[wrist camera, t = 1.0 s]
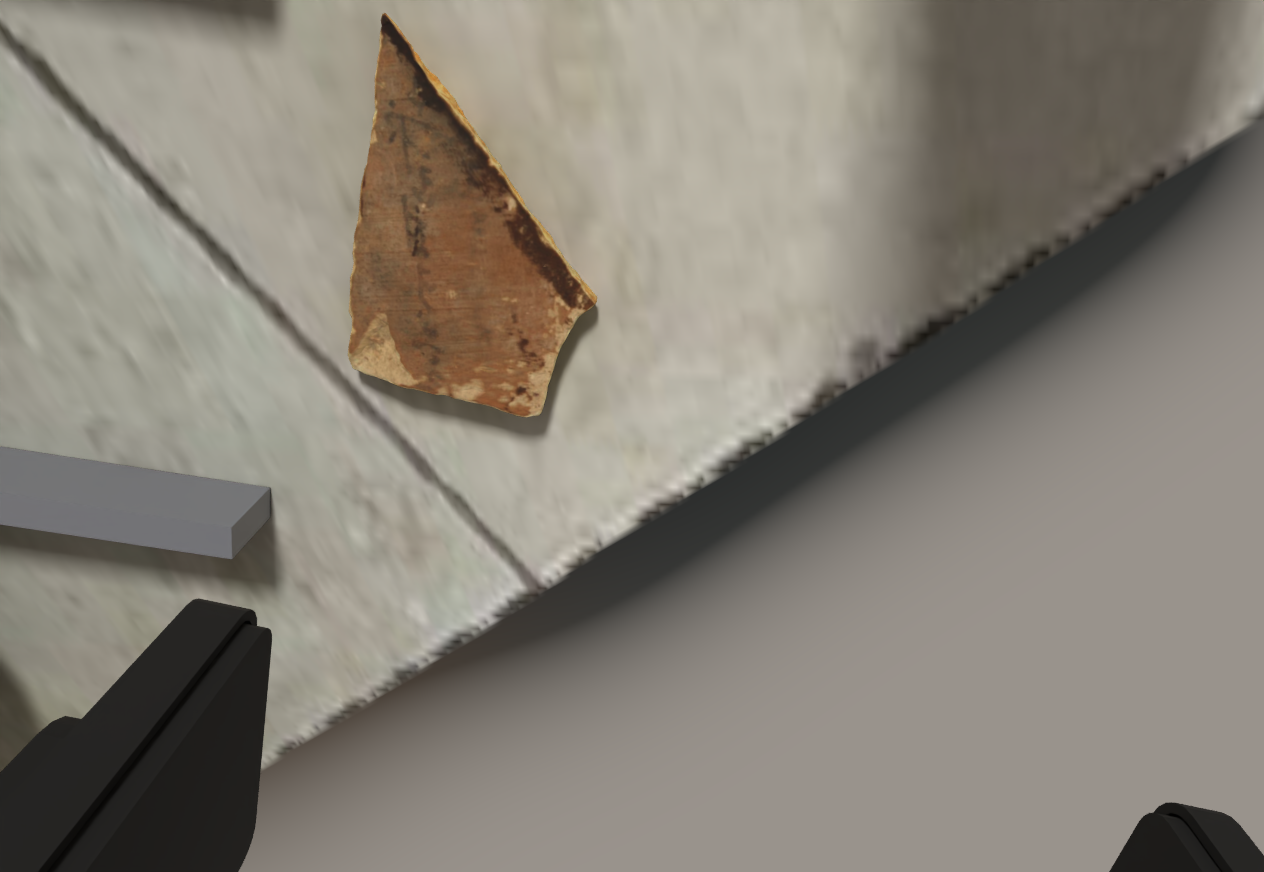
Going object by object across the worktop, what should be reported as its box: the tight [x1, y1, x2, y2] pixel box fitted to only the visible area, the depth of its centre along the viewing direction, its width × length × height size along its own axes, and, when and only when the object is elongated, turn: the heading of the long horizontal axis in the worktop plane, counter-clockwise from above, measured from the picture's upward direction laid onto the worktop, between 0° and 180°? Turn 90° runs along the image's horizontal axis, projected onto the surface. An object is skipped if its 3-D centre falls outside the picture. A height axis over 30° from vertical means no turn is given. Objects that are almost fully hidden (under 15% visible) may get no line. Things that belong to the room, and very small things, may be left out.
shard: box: [348, 13, 597, 417], centre depth 27 cm, size 11×8×2 cm
